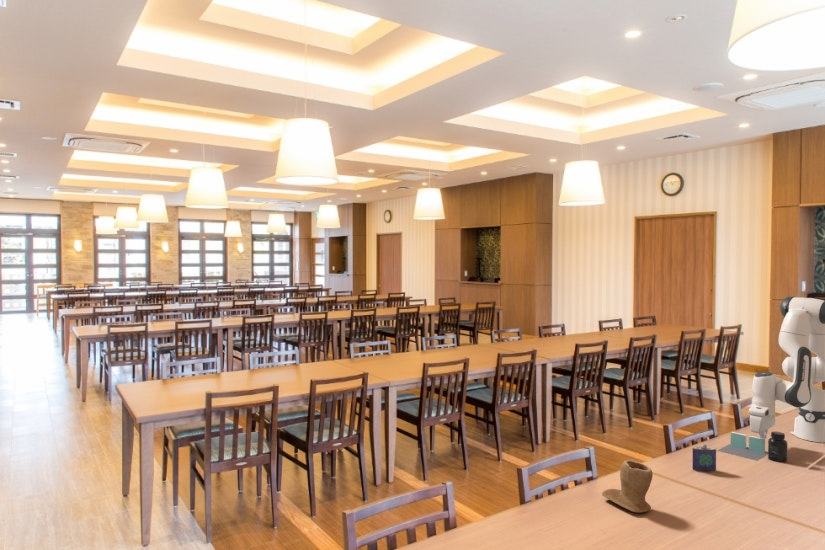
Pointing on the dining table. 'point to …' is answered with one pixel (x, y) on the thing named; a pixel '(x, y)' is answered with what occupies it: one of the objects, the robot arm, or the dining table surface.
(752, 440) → the tile
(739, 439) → the tile
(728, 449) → the mat
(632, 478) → the brown boot
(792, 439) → the dining table surface
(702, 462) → the flask
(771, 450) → the supplement bottle
